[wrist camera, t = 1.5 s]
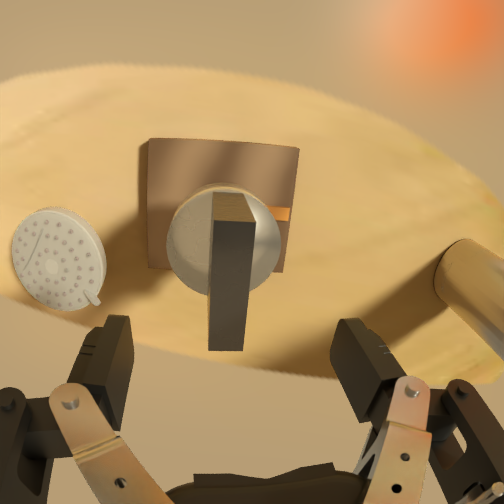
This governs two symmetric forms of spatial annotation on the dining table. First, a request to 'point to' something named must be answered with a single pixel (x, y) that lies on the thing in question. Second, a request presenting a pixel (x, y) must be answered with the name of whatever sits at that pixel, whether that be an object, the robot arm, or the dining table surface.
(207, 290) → the knob
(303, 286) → the dining table surface
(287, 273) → the dining table surface
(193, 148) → the post base
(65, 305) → the showerhead
